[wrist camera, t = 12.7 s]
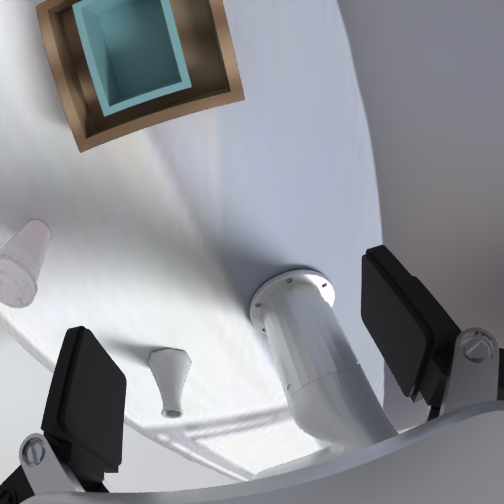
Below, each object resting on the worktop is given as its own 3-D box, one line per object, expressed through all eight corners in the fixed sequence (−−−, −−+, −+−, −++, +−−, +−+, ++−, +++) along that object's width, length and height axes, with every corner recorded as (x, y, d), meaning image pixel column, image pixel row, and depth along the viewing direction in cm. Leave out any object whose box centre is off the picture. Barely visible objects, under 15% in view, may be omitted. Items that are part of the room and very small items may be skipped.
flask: (191, 372, 52) (197, 423, 43) (150, 373, 50) (151, 424, 42) (191, 346, 48) (196, 401, 39) (145, 347, 46) (144, 402, 38)
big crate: (237, 93, 28) (245, 99, 25) (92, 139, 28) (80, 153, 24) (204, -42, 19) (208, -56, 16) (54, 11, 19) (35, 6, 15)
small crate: (190, 81, 26) (191, 86, 21) (119, 105, 25) (104, 116, 21) (166, -13, 20) (162, -29, 15) (92, 13, 20) (72, 5, 15)
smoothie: (25, 199, 29) (-32, 276, 18) (68, 226, 32) (28, 313, 21) (10, 239, 31) (-37, 319, 20) (50, 263, 34) (15, 349, 23)
